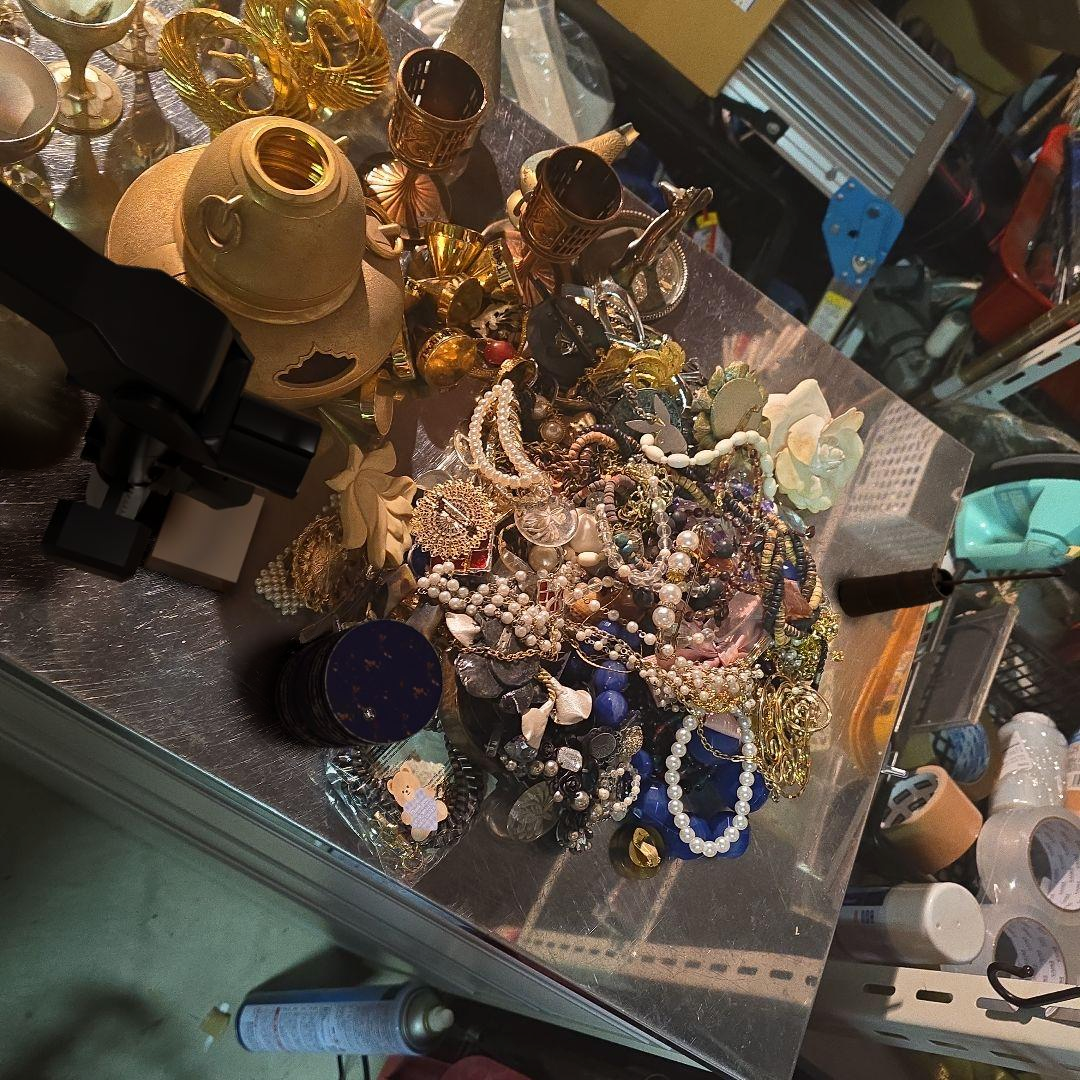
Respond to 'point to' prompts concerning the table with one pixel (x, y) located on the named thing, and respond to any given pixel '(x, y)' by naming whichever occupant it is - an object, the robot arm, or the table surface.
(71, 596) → the table surface
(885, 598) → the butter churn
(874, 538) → the table surface
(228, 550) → the tan square box
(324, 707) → the storage jar
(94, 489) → the planter
